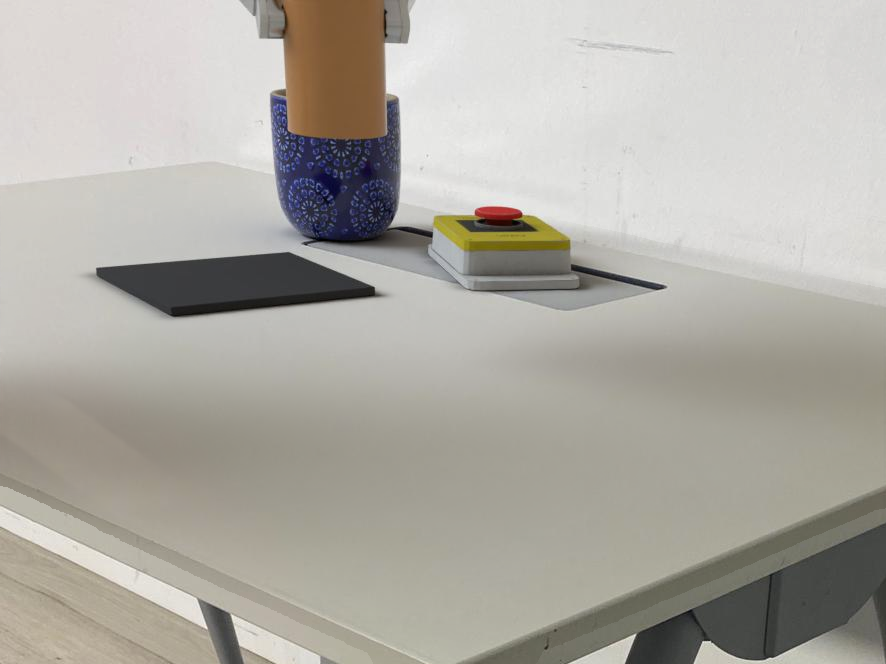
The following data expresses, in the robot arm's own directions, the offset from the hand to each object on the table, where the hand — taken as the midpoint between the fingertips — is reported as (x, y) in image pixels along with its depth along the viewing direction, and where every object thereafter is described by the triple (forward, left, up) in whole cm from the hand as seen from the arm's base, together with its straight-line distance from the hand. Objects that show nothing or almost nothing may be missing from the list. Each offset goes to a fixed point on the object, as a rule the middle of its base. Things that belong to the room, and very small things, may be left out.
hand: (336, 33), depth 84 cm
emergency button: (+23, +17, -18) cm, 34 cm away
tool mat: (+1, +20, -18) cm, 27 cm away
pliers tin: (0, +1, -5) cm, 5 cm away
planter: (+18, +35, -18) cm, 43 cm away
